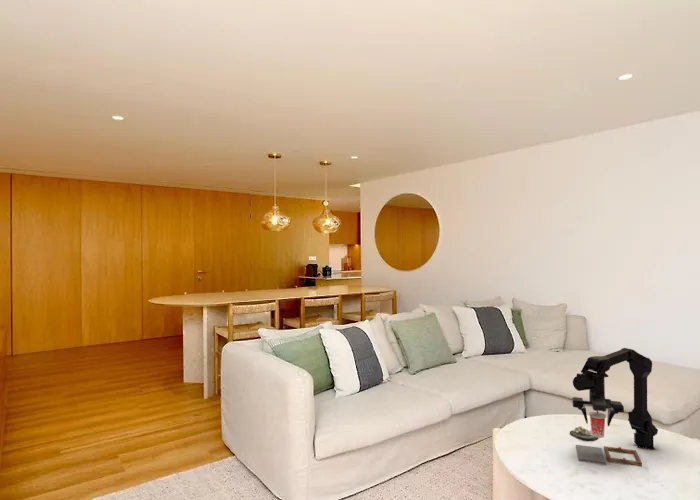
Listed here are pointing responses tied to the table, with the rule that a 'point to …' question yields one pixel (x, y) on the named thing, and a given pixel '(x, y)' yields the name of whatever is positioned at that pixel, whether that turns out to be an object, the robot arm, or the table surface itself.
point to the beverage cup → (597, 424)
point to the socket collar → (623, 461)
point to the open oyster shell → (583, 434)
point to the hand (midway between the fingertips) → (597, 424)
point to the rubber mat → (590, 454)
